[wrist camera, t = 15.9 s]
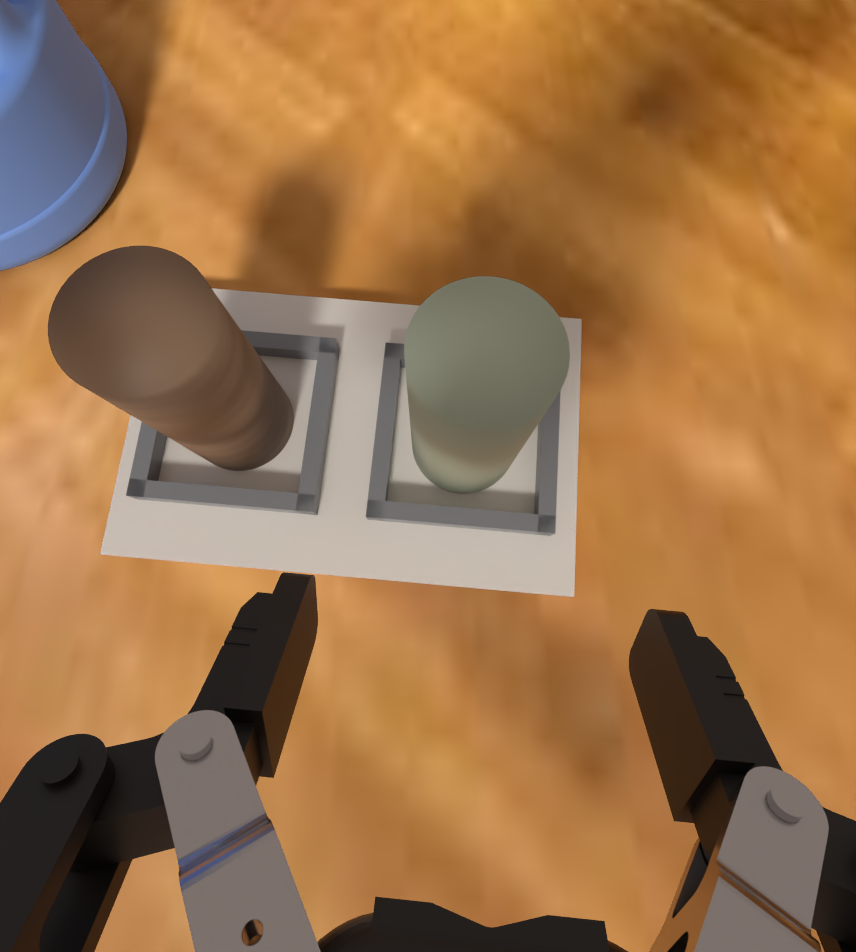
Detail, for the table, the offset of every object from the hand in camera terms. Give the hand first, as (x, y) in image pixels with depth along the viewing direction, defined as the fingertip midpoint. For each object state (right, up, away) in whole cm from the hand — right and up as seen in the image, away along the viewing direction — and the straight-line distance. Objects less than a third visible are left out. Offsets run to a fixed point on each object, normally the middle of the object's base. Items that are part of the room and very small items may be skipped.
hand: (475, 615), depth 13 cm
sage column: (+1, +5, +13) cm, 14 cm away
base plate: (-5, +5, +14) cm, 16 cm away
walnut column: (-10, +6, +13) cm, 18 cm away
